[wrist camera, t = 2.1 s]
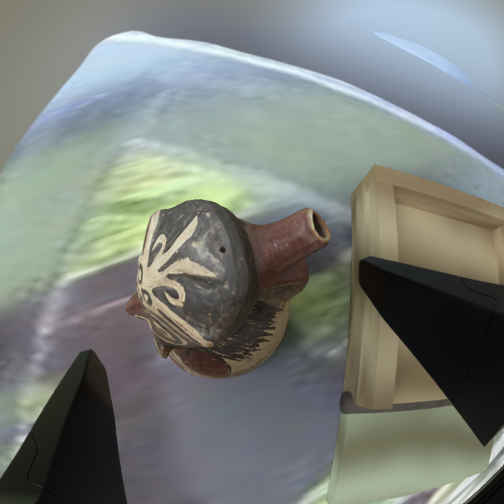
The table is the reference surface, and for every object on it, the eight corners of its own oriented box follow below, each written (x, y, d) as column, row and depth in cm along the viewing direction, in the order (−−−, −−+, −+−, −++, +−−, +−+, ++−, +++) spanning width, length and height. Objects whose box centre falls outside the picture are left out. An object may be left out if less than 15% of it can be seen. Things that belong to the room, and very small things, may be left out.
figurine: (153, 262, 19) (83, 133, 7) (268, 251, 20) (333, 116, 8) (163, 381, 16) (76, 418, 5) (286, 367, 18) (399, 376, 6)
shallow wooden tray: (478, 467, 16) (511, 474, 12) (322, 500, 15) (346, 526, 11) (485, 230, 23) (514, 212, 19) (348, 193, 22) (371, 163, 18)
